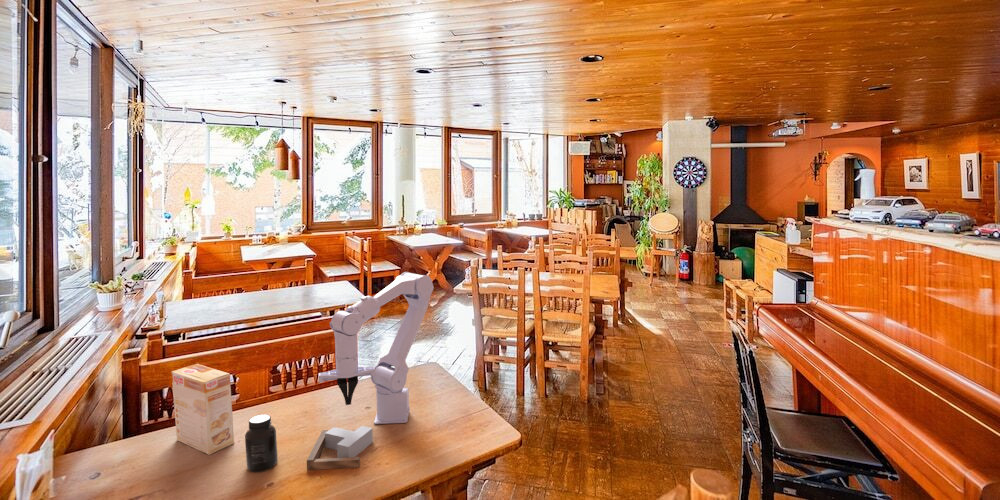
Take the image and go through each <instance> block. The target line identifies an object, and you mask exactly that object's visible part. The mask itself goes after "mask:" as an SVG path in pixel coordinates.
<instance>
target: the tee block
mask: <svg viewBox="0 0 1000 500" xmlns="http://www.w3.org/2000/svg"><path fill="white" fill-rule="evenodd" d="M373 437H374V435H373V427H369V426H364V425H361V426H359V427H357V428H356V429H355V430H349V429H344V428H341V427H336V426H333V427H332V428H330V429H328V431H327V432H326V433H325V447H324V448H327V449H331V450H334V451H336V455H337V457H336V458H349V457H358V455H359V454H360V453H362V452H364V450H365V449H367V447H369V446H371V444H372V443H373V442H374V439H373Z"/></svg>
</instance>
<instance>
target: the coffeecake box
mask: <svg viewBox="0 0 1000 500" xmlns="http://www.w3.org/2000/svg"><path fill="white" fill-rule="evenodd" d="M170 373H171V382H172V384H171V385H172V395H173V396H172V397H173V407H174V419H175V433H176V434H175V435H176V440H177V441H178V442H180V443H182V444H184V445H187V446H189V447H190V448H191V447H192V448H194V449H195V450H197V451H200V452H202V453H204V454H206V455H208V456H209V455H212V454H214V453H216V452H218V451H220V450H222V449H225V448H227V447H229V446H231V445H233V444H235V437H234V436H235V435H234V419H233V406H232V403H233V401H232V389H231V388H232V387H231V373H229V372H225V371H222V370H218V369H216V368H212V367H208V366H206V365H203V364H199V363H195V364H192V365H188V366H185V367H182V368H179V369H175V370H172V371H171V372H170Z"/></svg>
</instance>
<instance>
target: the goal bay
mask: <svg viewBox="0 0 1000 500" xmlns="http://www.w3.org/2000/svg"><path fill="white" fill-rule="evenodd" d="M327 431H329V429H324V430H322V431H321V432H320V434H319V436H318V438H317V440H316V442H315V443H314V445H313V447H312V449H311V451H310V453H309V455H308V457H307V459H306V470H307V471H313V470H314V471H315V470H330V469H331V470H332V469H349V468H350V469H352V468H354V469H355V468H359V467H360V465H361V459H360V458H361V457H360V456H355V457H349V458H337V457H334V458H333V457H330V458H329V457H327V458H320V457H321V455H322V453H323V451H324V449H325V448H326V447H325V433H326V432H327Z"/></svg>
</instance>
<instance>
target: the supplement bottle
mask: <svg viewBox="0 0 1000 500" xmlns="http://www.w3.org/2000/svg"><path fill="white" fill-rule="evenodd" d="M271 417H272V416H271V415H269V414H264V413H263V414H258V415H254V416H252V417H251V418H249V419H248V430H246V433H245V434H244V440H245V441H244V443H245V456H246V459H245V460H246V468H247V469H248V471H249V472H254V473H260V472H265V471H267V470H271V469H272V468H273V467H275V465H277V463H278V441H277V429H276V427H275V426H274V425H272V418H271Z"/></svg>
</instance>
